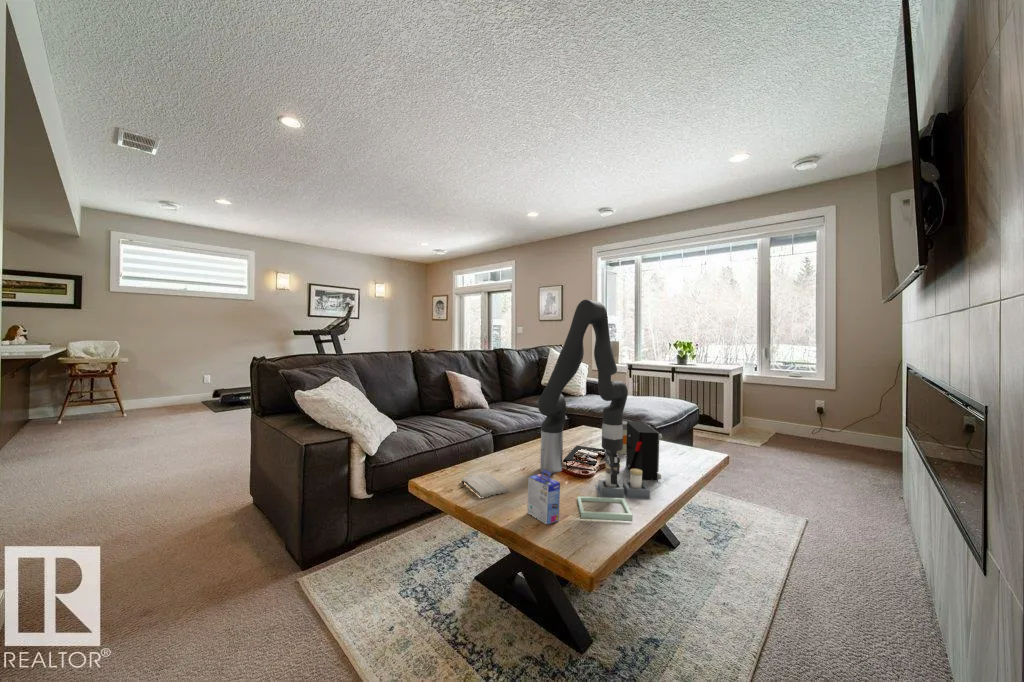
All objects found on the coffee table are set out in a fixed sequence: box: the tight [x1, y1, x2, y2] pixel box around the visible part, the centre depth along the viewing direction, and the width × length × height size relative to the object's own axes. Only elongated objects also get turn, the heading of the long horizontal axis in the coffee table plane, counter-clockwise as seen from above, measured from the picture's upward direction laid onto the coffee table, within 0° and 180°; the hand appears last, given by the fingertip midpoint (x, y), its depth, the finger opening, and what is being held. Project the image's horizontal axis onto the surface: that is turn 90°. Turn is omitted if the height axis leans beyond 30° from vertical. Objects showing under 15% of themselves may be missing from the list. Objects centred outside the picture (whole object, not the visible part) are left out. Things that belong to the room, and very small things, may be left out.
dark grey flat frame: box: [562, 445, 605, 466], centre depth 178 cm, size 14×23×3 cm, turn 156°
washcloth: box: [462, 472, 509, 499], centre depth 145 cm, size 12×18×3 cm, turn 32°
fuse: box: [604, 462, 617, 488], centre depth 141 cm, size 4×4×10 cm
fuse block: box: [594, 469, 652, 500], centre depth 140 cm, size 18×11×9 cm, turn 86°
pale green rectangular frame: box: [576, 495, 634, 522], centre depth 127 cm, size 16×12×2 cm
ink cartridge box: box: [526, 470, 561, 525], centre depth 122 cm, size 10×6×14 cm, turn 38°
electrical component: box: [625, 421, 663, 483], centre depth 160 cm, size 18×10×20 cm, turn 179°
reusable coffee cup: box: [617, 418, 633, 455], centre depth 191 cm, size 13×13×15 cm
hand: (611, 479), depth 141 cm, fingers open, 8 cm apart
